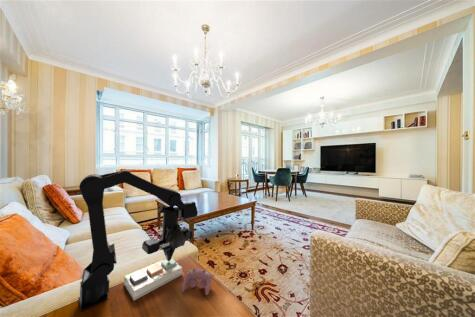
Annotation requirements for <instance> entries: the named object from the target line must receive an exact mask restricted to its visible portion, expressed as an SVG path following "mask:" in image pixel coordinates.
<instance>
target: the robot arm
mask: <svg viewBox="0 0 475 317" xmlns="http://www.w3.org/2000/svg"><path fill="white" fill-rule="evenodd" d="M124 183H125V184H127V185H129V186H132V187H134V188H136V189H139V190H141V191H142V192H145V193H147V194H149V195H152V196H154V197H155V198H157V199H159V200H160V201H161V202H163V203H164V204H166V205H167V206H165V205H164V204H162V205H161V206H160V207H159V208H158V209H157V212H158V213H159V214H162V223H161V227H162V232H161V233H160V237H161V238H160V239H156V238H154V237H153V238H150V239H146V240H144V241H143V242H142V245H141V249H142V250H143V251H144V252H145V253H146V254H147V255H151V254H154V253H156V252H158V251H159V250H160V249H161V250H162V251H163V254H164V256H165V258H166V259H167V261H170V260H171V258H172V259H173V256H174V253H175V250H176V249H178V248H180V247H184V246H185V244H186V242H188V241H189V240H191V239H193V238H194V231H193V230H191V229H190V228H187V227H185V228H182V229H181V225H180V223H179V218H180V219H181V220H182V221H184V220H185V221H186V220H190V219H195V218H197V217H198V214H199V212H198V207H197V205H196V204H197V203H196V201H189V202H183V200H182V195H181V193H179V192H178V191H176V190H174V189H172V188H169V187H164V186H160V185H157V184H155V183H153V182H151V181H148V180H147V179H145V178H143V177H140V176H138V175H136V174H134V173H132V172H130V171H129V170H127V169H122V170H119V171H115V172H109V173H104V174H101V175H100V174H96V173H95V174H94V173H93V174H91V173H90V174H88V175H87V176H85V177H84V178H83V179H81V181H80V183H79V191H80V193H81V196H82V198H83V201H84V202H85V204H86V206H87V211H88V213H87V214H88V221H89V229H90V234H91V244H92V257H91V258H92V259H91V262H90V263H88V265H87V266H86V267H85V268H84V269H83V272H82V277H81V281H80V287H79V288H80V289H79V297H78V303H79V306H80V311H81V312H83V311H85V310H88V309H90V308H92V307H94V306H96V305H98V304H100V303H102V302H104V301H106V300H108V299H109V292H110V279H109V277H108V276H109V275H111V273H112V272H113V271H114V268H115V265H116V264H117V254H116V247H115V243H112V244H109V241H108V234H107V227H106V226H107V225H106V218H105V217H106V216H105V211H104V203H103V202H104V193H105V189H109V188H112V187H115V186H118V185H121V184H124Z"/></svg>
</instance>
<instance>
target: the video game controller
mask: <svg viewBox="0 0 475 317" xmlns="http://www.w3.org/2000/svg"><path fill="white" fill-rule="evenodd" d="M212 276H213V275H212V274H211V273H210V271H207V270H205V269H203V268H193V269H190V270H188V271H187V273H186V274H185V276H184V279H183V282H182V286H181V292H182V293H185V292H186V289H188V288H187V287H188V285H189V286H190V288H195V287H196V286H197V284H198V288H199V289H204V293H205V296H208V295H209V294H210V289H211V284H212V278H213V277H212ZM197 280H200V281H199V283H198V282H197Z"/></svg>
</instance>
